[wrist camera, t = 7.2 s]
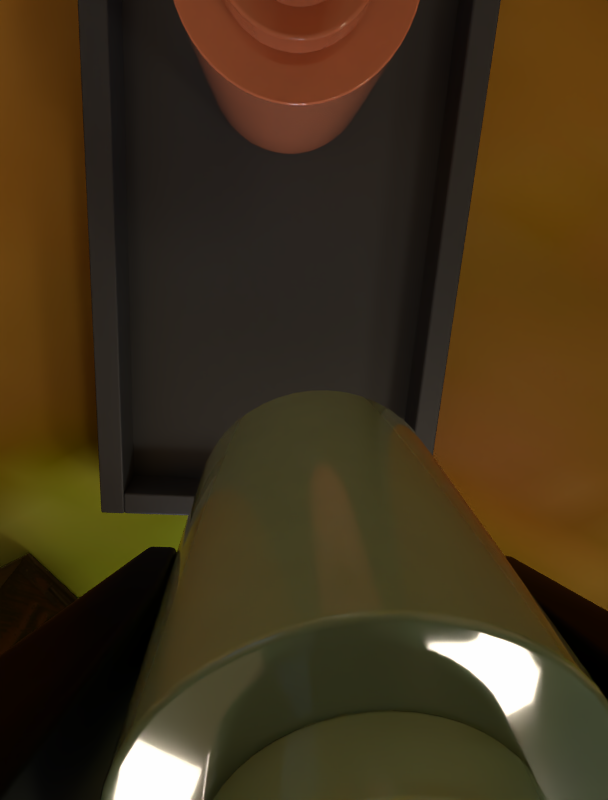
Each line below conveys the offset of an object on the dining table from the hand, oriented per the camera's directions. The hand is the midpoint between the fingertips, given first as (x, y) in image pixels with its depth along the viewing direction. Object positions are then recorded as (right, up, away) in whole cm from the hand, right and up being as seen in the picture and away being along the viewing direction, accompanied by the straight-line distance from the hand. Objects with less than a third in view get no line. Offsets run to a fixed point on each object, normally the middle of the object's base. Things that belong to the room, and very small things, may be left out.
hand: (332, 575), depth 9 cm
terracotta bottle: (-1, +13, +8) cm, 15 cm away
